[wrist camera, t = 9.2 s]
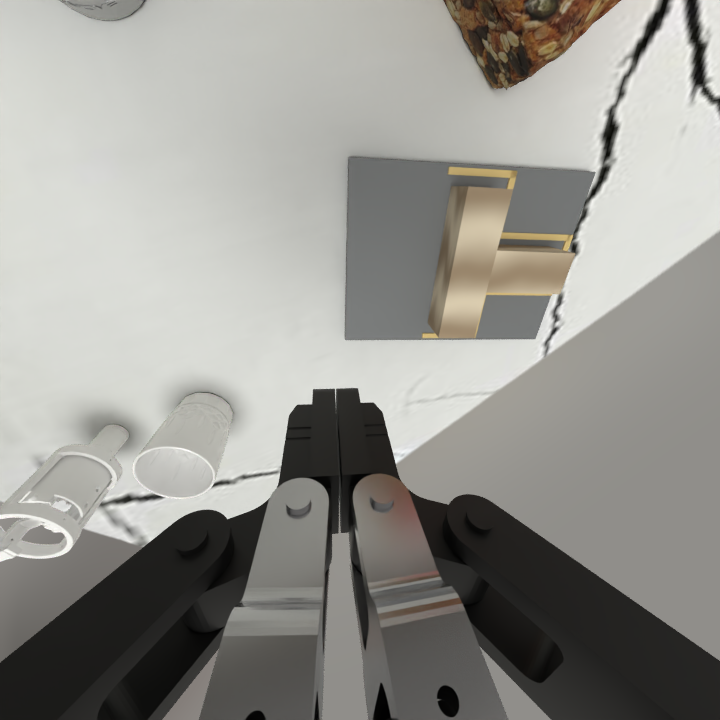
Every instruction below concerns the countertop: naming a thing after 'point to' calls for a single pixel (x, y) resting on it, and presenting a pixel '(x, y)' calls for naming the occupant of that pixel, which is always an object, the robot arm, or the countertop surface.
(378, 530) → the robot arm
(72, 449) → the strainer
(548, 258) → the t block
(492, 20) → the bread
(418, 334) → the board
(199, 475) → the white cup
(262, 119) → the countertop surface
